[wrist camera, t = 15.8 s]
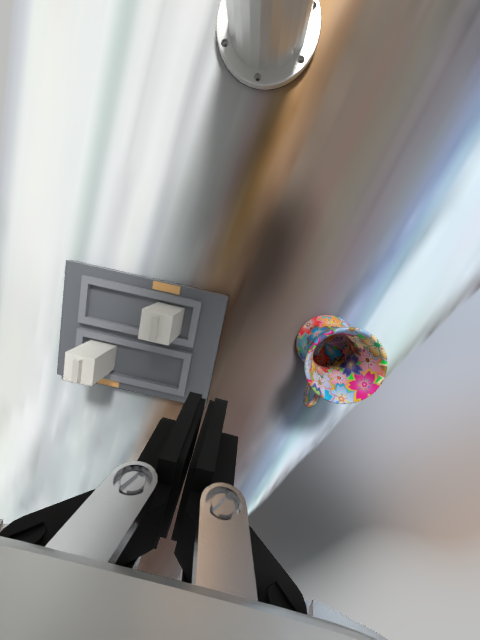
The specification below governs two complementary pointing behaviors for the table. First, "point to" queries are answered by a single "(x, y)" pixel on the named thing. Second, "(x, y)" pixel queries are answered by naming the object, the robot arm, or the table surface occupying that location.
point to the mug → (339, 361)
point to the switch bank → (123, 328)
